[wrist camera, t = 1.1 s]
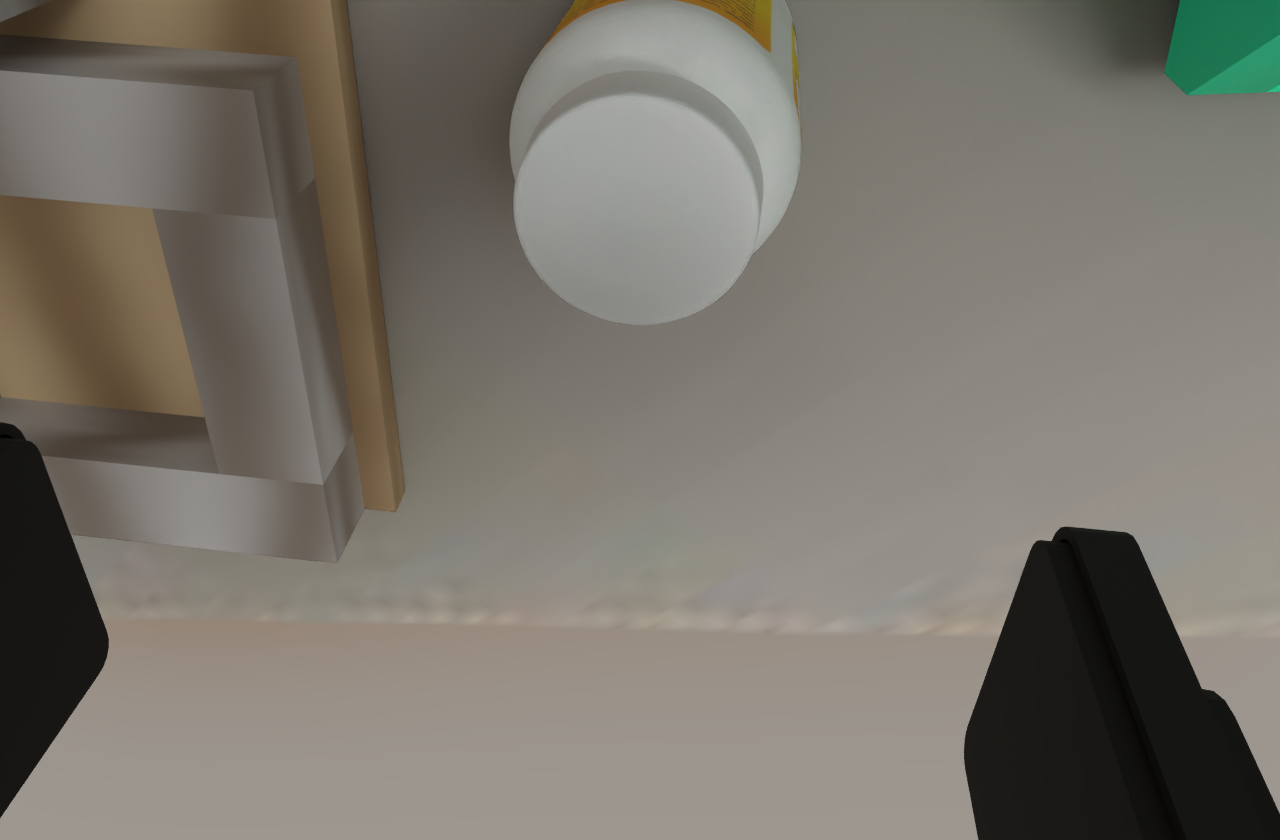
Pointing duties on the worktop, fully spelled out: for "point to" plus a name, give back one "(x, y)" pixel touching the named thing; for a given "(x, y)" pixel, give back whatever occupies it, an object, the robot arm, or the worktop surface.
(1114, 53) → the worktop surface
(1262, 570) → the worktop surface
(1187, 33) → the camera mount
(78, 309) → the dock
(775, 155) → the supplement bottle
